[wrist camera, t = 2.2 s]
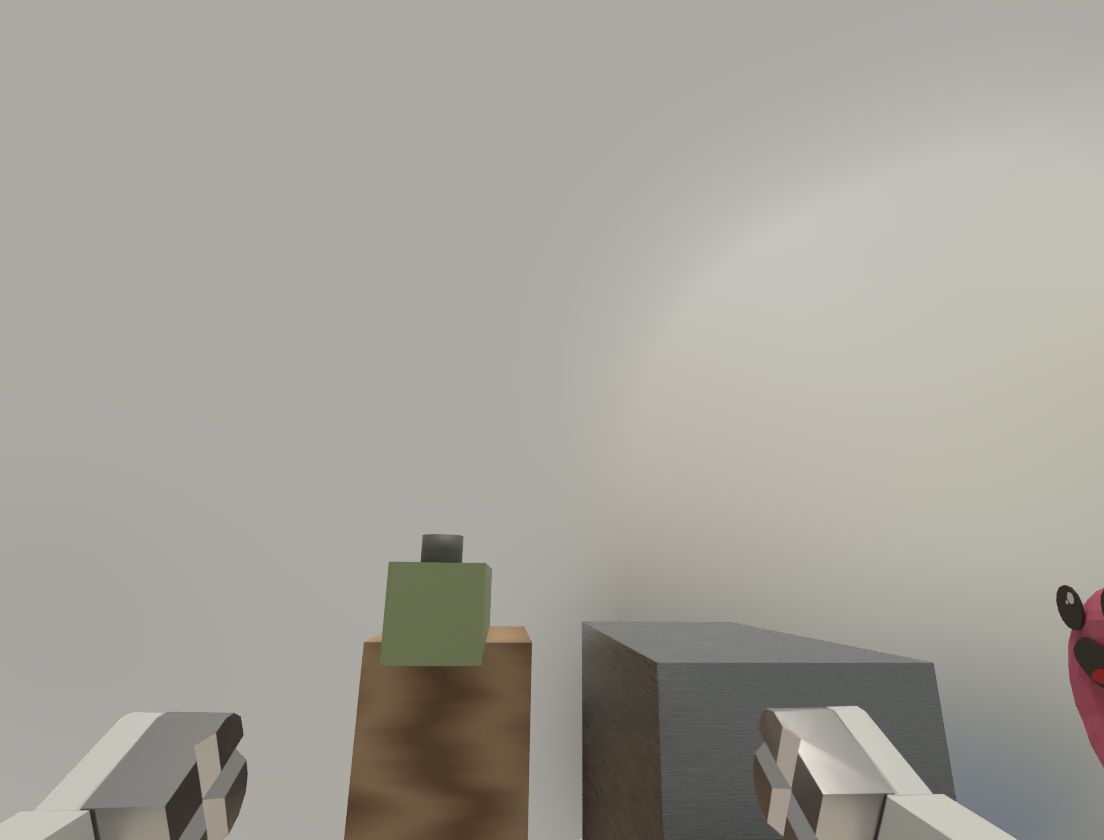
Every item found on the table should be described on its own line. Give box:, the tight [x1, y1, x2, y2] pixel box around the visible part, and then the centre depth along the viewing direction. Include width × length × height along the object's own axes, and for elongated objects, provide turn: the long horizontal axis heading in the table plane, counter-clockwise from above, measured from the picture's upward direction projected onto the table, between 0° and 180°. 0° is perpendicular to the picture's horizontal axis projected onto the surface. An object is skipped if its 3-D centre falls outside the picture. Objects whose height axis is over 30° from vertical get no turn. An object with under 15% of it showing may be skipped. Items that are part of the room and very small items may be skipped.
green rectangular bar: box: [379, 534, 492, 666], centre depth 32 cm, size 4×19×5 cm, turn 5°
